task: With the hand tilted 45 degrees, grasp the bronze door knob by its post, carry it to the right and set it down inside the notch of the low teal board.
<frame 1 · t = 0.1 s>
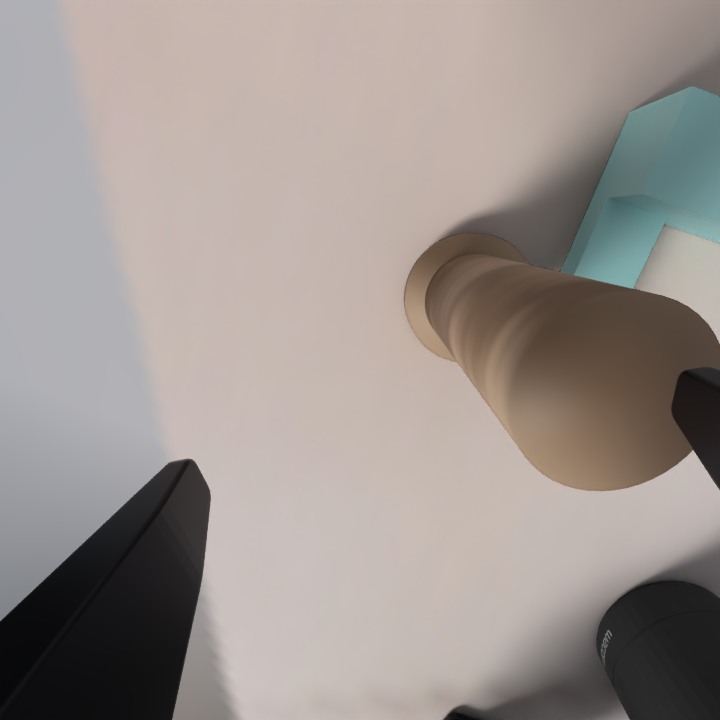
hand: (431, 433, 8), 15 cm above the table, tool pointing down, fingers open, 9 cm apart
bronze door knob: (465, 297, 23), on the table
notched board: (715, 287, 23), on the table
pen holder: (655, 626, 30), on the table
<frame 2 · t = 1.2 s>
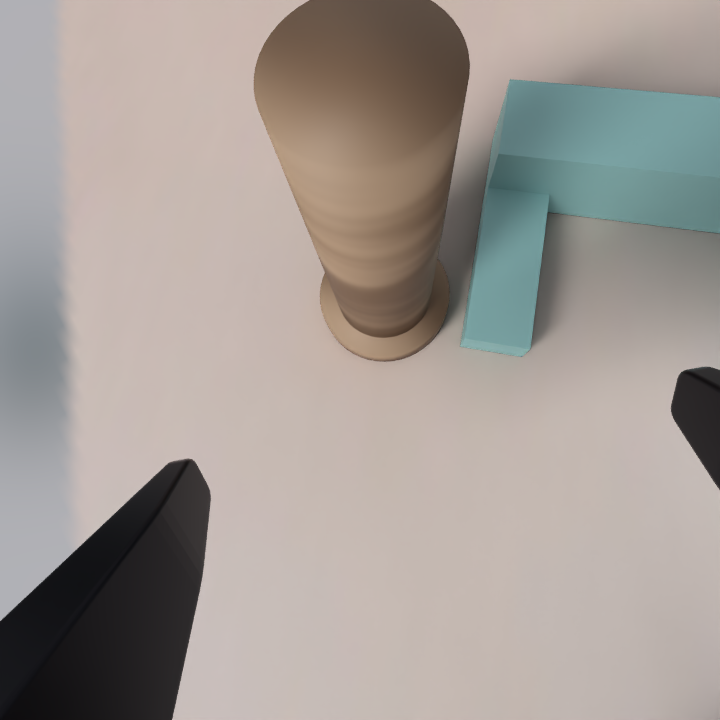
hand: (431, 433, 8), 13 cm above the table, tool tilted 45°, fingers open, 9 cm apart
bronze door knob: (384, 301, 23), on the table
notched board: (638, 259, 22), on the table
when the fingers open (9 cm above the table, at t = 8.2 s): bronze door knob drops 1 cm, on the table.
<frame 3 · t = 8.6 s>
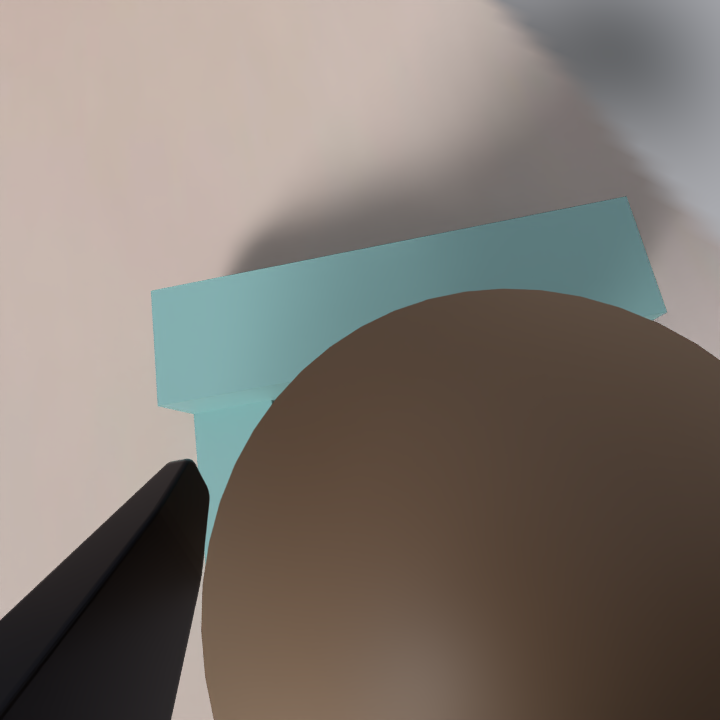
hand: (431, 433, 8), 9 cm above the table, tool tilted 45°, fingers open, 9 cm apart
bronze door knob: (423, 486, 17), on the table
notched board: (413, 432, 17), on the table
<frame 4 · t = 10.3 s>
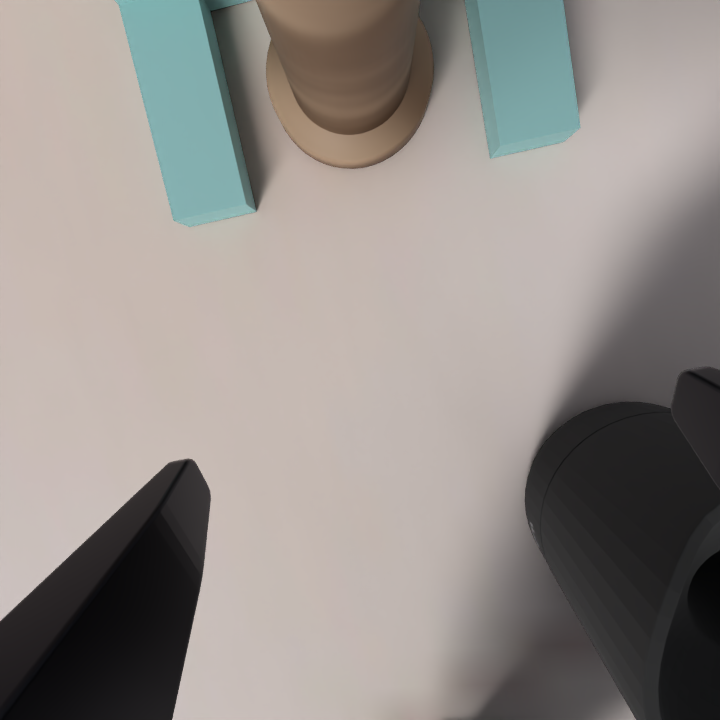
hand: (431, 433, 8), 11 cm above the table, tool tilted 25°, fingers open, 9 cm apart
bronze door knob: (351, 86, 18), on the table
notched board: (341, 33, 18), on the table
pen holder: (615, 490, 20), on the table
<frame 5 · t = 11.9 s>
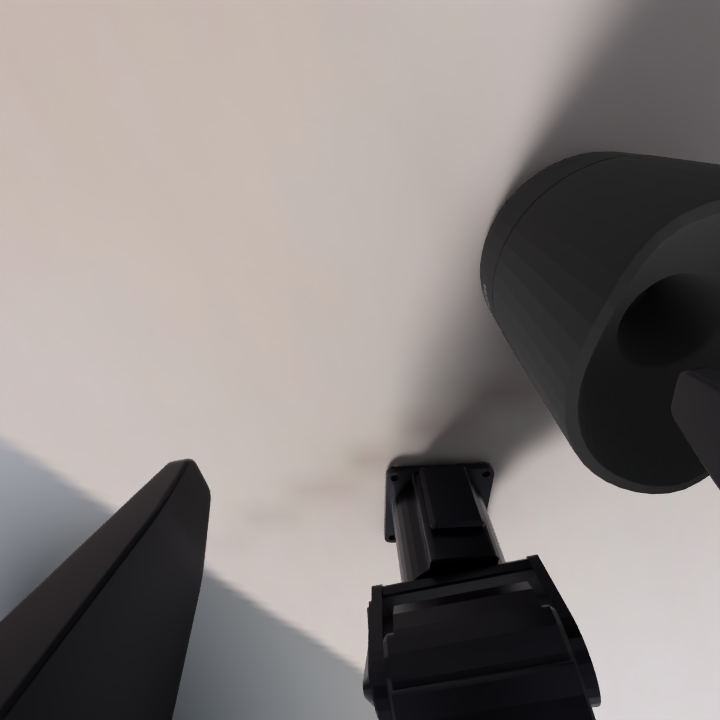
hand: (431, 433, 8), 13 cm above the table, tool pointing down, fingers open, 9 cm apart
pen holder: (568, 252, 20), on the table
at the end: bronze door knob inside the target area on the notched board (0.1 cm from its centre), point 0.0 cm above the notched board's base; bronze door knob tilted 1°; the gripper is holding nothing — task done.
